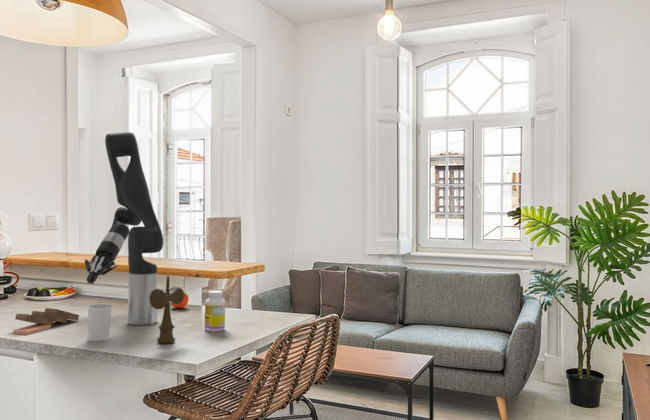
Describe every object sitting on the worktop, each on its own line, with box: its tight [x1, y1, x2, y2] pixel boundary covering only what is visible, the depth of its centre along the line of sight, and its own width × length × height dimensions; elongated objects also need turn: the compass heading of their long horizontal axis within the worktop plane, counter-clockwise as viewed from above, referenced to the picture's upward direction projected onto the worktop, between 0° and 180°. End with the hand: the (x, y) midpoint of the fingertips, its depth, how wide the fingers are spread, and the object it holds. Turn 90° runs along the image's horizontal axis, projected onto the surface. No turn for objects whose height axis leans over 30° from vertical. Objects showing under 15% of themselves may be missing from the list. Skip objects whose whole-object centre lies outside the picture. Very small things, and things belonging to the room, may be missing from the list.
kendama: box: [150, 275, 185, 345], centre depth 164 cm, size 6×10×20 cm, turn 157°
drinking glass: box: [87, 303, 112, 342], centre depth 165 cm, size 7×7×10 cm
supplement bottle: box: [204, 290, 226, 333], centre depth 182 cm, size 7×7×13 cm
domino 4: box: [44, 307, 80, 321], centre depth 185 cm, size 2×5×10 cm
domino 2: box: [12, 323, 52, 336], centre depth 173 cm, size 2×5×10 cm
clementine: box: [170, 290, 190, 309], centre depth 217 cm, size 8×7×7 cm
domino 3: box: [30, 310, 69, 324], centre depth 181 cm, size 2×5×10 cm
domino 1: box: [14, 313, 55, 327], centre depth 176 cm, size 2×5×10 cm
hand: (89, 282), depth 199 cm, fingers closed
